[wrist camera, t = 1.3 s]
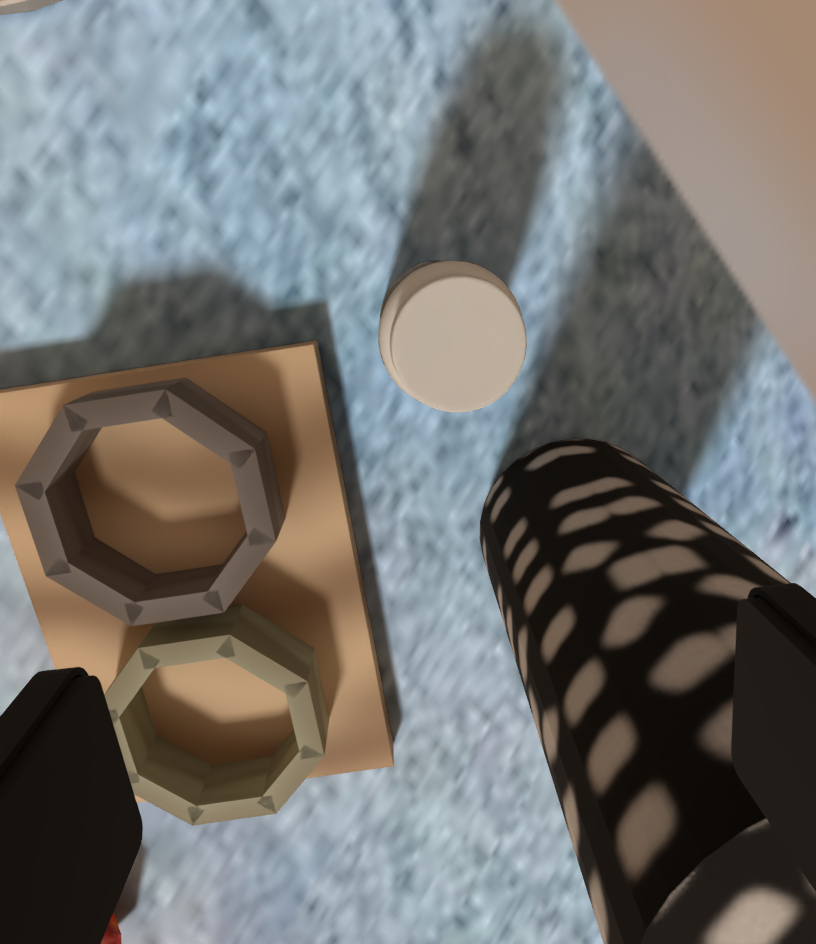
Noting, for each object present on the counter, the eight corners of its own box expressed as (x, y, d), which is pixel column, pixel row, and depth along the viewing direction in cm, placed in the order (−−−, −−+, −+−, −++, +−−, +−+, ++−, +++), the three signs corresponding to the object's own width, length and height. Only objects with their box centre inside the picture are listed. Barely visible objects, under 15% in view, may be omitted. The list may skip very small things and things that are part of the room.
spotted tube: (599, 638, 32) (903, 1188, 13) (446, 565, 31) (535, 1059, 12) (701, 490, 30) (1237, 890, 11) (540, 405, 29) (834, 691, 10)
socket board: (-18, 392, 28) (-83, 413, 24) (317, 340, 28) (305, 353, 24) (116, 784, 34) (81, 850, 30) (393, 744, 34) (393, 806, 30)
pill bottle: (380, 378, 28) (376, 426, 20) (379, 259, 27) (375, 260, 19) (494, 379, 28) (535, 426, 20) (499, 261, 27) (545, 261, 19)
